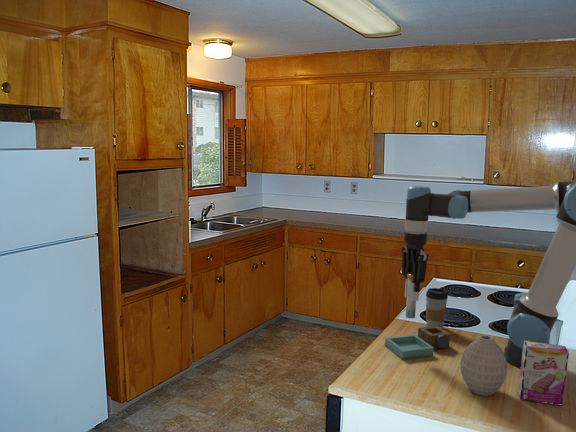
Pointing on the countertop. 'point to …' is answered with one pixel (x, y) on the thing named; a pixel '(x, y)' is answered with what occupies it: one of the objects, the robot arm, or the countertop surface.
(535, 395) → the candy bar box
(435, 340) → the tensioner block
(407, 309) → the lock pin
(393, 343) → the tray
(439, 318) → the coffee cup
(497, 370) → the vase
